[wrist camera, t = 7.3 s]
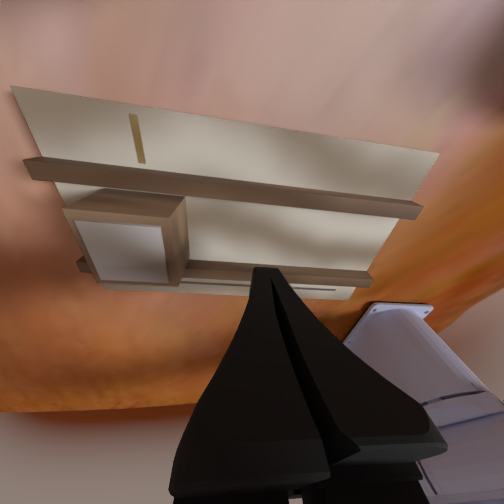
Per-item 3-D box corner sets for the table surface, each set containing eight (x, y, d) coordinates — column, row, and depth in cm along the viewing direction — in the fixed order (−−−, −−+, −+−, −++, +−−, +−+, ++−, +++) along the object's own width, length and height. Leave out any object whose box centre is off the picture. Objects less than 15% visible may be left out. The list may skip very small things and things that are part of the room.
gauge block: (189, 256, 15) (177, 288, 12) (125, 251, 15) (94, 285, 12) (185, 196, 12) (167, 219, 9) (104, 187, 12) (58, 209, 9)
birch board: (343, 293, 20) (353, 309, 19) (110, 281, 18) (95, 299, 16) (426, 151, 13) (458, 156, 11) (29, 88, 10) (-20, 80, 8)
